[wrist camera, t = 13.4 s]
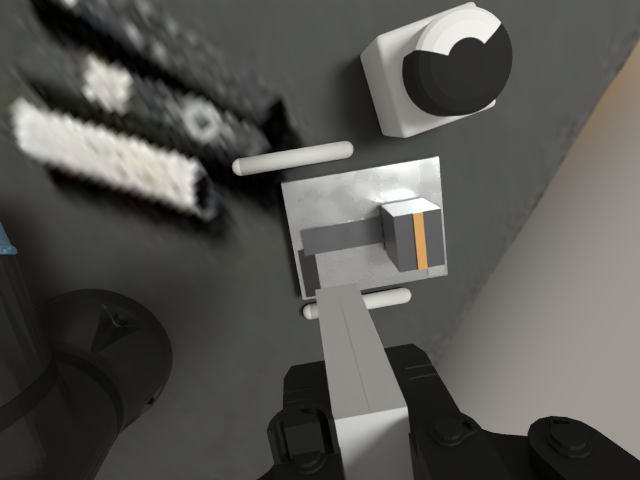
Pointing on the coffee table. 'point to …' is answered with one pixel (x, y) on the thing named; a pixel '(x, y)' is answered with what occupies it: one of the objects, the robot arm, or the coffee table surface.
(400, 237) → the toggle
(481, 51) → the container
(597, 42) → the coffee table surface
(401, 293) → the rod
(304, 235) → the panel
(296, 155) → the cord near
